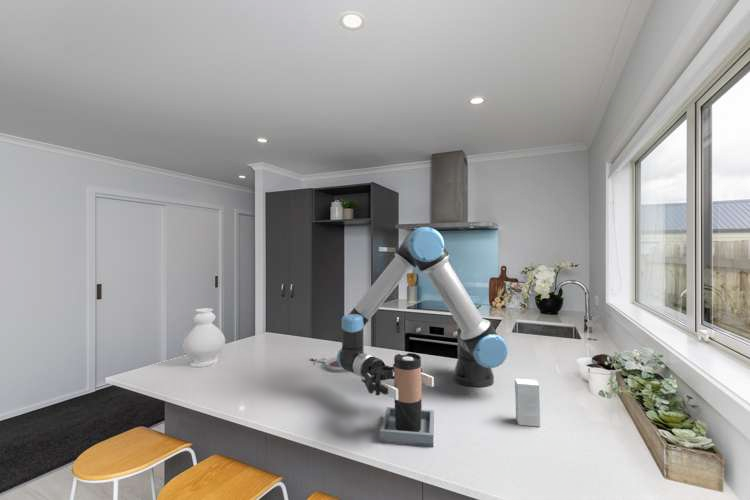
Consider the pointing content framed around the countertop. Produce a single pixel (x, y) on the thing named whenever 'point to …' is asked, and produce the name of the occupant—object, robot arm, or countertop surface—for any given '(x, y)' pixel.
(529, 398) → the skincare box
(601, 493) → the countertop surface
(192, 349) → the decorative vase
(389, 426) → the tray
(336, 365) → the frying pan
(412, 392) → the travel mug
